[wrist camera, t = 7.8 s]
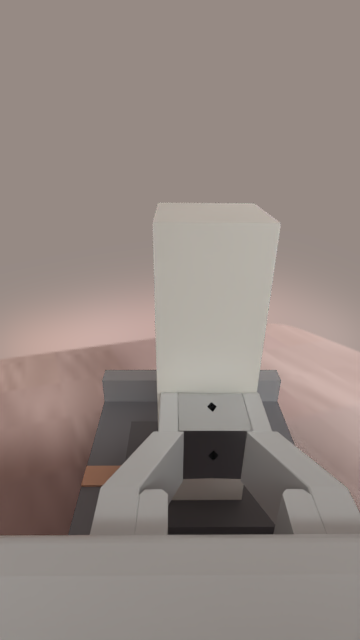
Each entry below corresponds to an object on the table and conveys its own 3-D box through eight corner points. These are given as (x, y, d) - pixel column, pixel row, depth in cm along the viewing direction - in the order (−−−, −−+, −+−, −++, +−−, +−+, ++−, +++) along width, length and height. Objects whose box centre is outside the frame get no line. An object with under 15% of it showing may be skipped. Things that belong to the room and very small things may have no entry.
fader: (284, 550, 12) (365, 233, 7) (117, 551, 12) (76, 231, 7) (255, 442, 17) (292, 199, 12) (133, 443, 17) (114, 197, 11)
